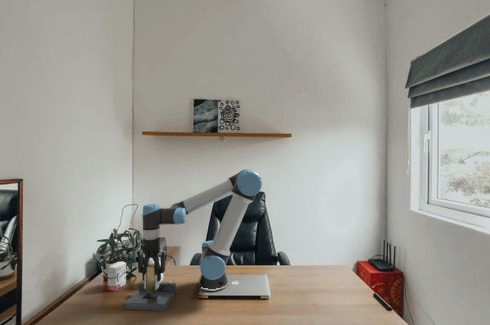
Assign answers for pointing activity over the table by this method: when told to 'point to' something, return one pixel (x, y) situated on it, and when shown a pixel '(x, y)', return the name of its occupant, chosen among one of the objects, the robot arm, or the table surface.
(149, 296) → the jig
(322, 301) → the table surface
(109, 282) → the ink box
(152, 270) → the sleeve
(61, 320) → the table surface
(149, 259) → the cat figurine
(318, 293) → the table surface
